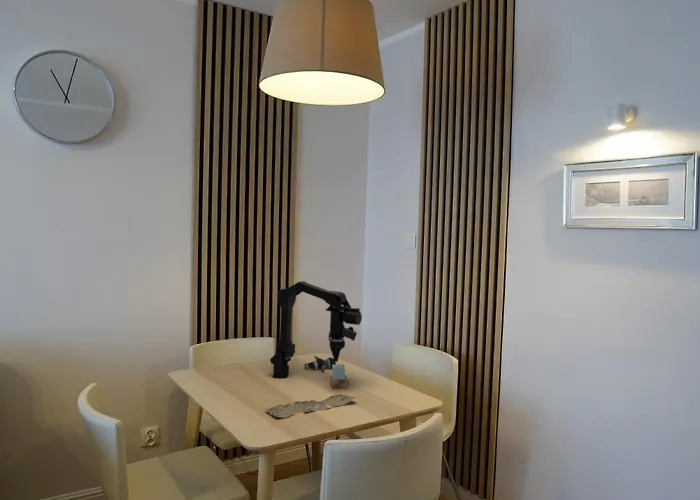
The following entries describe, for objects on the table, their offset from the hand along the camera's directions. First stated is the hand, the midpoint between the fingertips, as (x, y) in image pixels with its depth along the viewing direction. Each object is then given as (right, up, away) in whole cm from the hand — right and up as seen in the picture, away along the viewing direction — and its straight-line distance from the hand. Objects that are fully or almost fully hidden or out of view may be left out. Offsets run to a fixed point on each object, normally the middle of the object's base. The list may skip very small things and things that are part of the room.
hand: (335, 358), depth 221 cm
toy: (-8, -11, +27) cm, 30 cm away
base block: (+1, -12, 0) cm, 12 cm away
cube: (+1, -8, 0) cm, 8 cm away
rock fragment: (-8, -13, -27) cm, 31 cm away
